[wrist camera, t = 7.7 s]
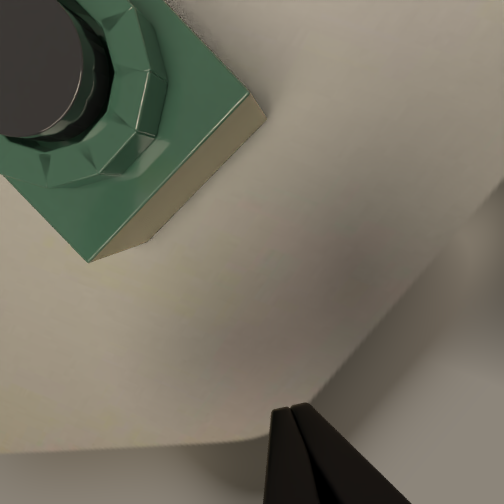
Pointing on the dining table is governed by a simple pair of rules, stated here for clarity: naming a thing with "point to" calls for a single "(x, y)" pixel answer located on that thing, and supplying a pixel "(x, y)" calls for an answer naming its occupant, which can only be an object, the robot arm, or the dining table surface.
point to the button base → (136, 132)
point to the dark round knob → (49, 71)
